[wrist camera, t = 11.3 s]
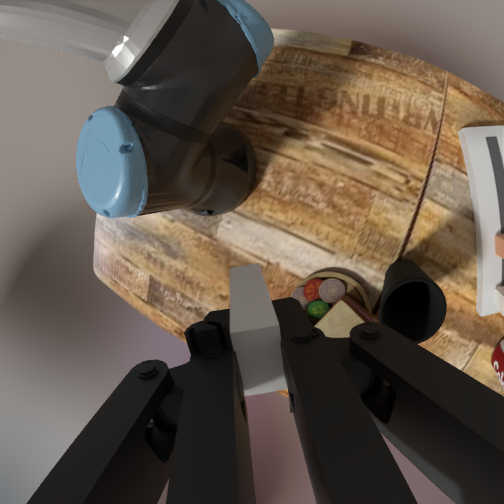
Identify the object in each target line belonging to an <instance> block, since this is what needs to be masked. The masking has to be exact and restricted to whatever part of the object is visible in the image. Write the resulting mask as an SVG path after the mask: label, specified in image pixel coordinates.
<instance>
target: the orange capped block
mask: <svg viewBox="0 0 504 504" xmlns="http://www.w3.org/2000/svg"><path fill="white" fill-rule="evenodd" d="M495 254H496V255H498V256H499V257H501V258H503V259H504V234H501V235H495Z"/></svg>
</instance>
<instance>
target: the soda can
mask: <svg viewBox="0 0 504 504" xmlns="http://www.w3.org/2000/svg"><path fill="white" fill-rule="evenodd" d="M491 363H492V366H493V368H494V370H495V372H496V374H497V376H498V378H499V380H500V383H501V385H502V387H503V389H504V339H502V340H501V341H500V342H499V343H498V344H497V346H496V347H495V349H494V351H493V353H492V357H491Z"/></svg>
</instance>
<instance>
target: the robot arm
mask: <svg viewBox="0 0 504 504" xmlns="http://www.w3.org/2000/svg"><path fill="white" fill-rule="evenodd" d="M0 39H5V40H12V41H19V42H25V43H30V44H35V45H40V46H45V47H49V48H54V49H58V50H62V51H66V52H70V53H74V54H77V55H81V56H84V57H88V58H91V59H94V60H98V61H101V62H103V63H104V65H105V67H106V70H107V73H108V76H109V78H110V81H112V82H114V83H118V84H121V85H123V86H124V88H123V90H122V92H121V93H120V95H119V97H118V100H117V101H116V103H115V105H114V106H106V107H103V108H99V109H97V110H96V111H95V112H94V113H93V115H91V116H89V117H88V119H87V120H86V122H85V124H84V126H83V128H82V130H81V133H80V136H79V140H78V145H77V156H76V165H77V166H76V167H77V174H78V180H79V184H80V188H81V190H82V193H83V195H84V197H85V199H86V201H87V202H88V204H89V205H90V206H91V208H92V209H94V211H96V212H97V213H99V214H100V215H102V216H105V217H109V218H116V217H129V218H131V217H136V216H141V215H146V214H152V213H157V212H163V211H169V210H175V209H181V208H182V209H185V210H187V211H190V212H192V213H195V214H198V215H202V216H215V215H221V214H225V213H228V212H230V211H232V210H234V209H235V208H237V207H238V206H239V205H240V204H241V203H242V202H243V201H244V200H245V199H246V198H247V196H248V195H249V193H250V191H251V189H252V187H253V184H254V181H255V176H256V158H255V154H254V150H253V148H252V146H251V144H250V142H249V140H248V139H247V138H246V137H245V136H244V134H242V133H241V132H240V131H239V130H237V129H236V128H234V127H231V126H229V125H226V124H223V123H222V122H223V120H224V119H225V117H226V116H227V114H228V113H229V111H230V110H231V108H232V107H233V105H234V104H235V102H236V101H237V99H238V98H239V96H240V95H241V94H242V92H243V91H244V89H245V88H246V87H247V85H248V84H249V82H250V81H251V80H252V78H254V77H256V76H257V75H258V74H259V73H260V70H261V66H262V65H263V64H264V62H265V61H266V59H267V58H268V56H269V55H270V54H271V52H272V50H273V45H274V37H273V34H272V31H271V29H270V27H269V25H268V24H267V22H266V21H265V20H264V18H263V17H262V16H261V15H260V14H259V13H258V12H257V11H256V10H255V9H254V8H253V7H252V6H251V5H250V4H248V3H247V2H246V1H245V0H0ZM184 334H185V338H186V341H187V344H188V347H189V350H190V353H191V357H190V361H189V362H187V363H186V364H183V365H180V366H177V367H174V368H171V369H168V366H167V364H166V363H164V362H163V361H160V360H147V361H144V362H141V363H139V364H138V365H136V366H135V367H133V368H132V369H131V371H130V372H129V373H128V374H127V375H126V376H125V378H124V379H123V380H122V381H121V383H120V384H119V385H118V386H117V388H116V389H115V390H114V391H113V393H112V394H111V395H110V397H109V398H108V399H107V400H106V401H105V403H104V404H103V405H102V406H101V408H100V409H99V410H98V411H97V413H96V414H95V415H94V416H93V418H92V419H91V420H90V421H89V423H88V424H87V425H86V427H85V428H84V429H83V430H82V431H81V433H80V434H79V435H78V437H77V438H76V439H75V441H74V442H73V443H72V444H71V446H70V447H69V448H68V449H67V451H66V452H65V453H64V455H63V456H62V457H61V458H60V460H59V461H58V462H57V464H56V465H55V466H54V468H53V469H52V470H51V472H50V473H49V474H48V476H47V477H46V478H45V479H44V481H43V482H42V484H41V485H40V486H39V487H38V489H37V490H36V491H35V493H34V494H33V495H32V497H31V498H30V500H29V501H28V503H27V504H157V503H158V501H159V499H160V497H161V494H162V492H163V490H164V487H165V485H166V483H167V481H168V479H169V485H168V493H167V500H166V504H256V497H255V487H254V478H253V468H252V458H251V450H250V449H251V448H250V437H249V427H248V416H247V406H246V402H245V398H244V394H245V396H249V395H255V394H262V393H267V392H273V391H279V390H284V389H287V387H288V394H289V402H290V411H291V413H292V412H293V415H294V419H295V423H296V427H297V430H298V434H299V438H300V442H301V446H302V450H303V453H304V457H305V461H306V465H307V469H308V473H309V476H310V480H311V484H312V488H313V492H314V496H315V499H316V503H317V504H418V503H417V501H416V499H415V497H414V496H413V494H412V492H411V490H410V488H409V486H408V484H407V482H406V480H405V478H404V476H403V475H402V472H401V471H400V469H399V467H398V465H397V463H396V461H395V459H394V457H393V455H392V454H391V452H390V450H389V448H388V446H387V444H386V443H385V441H384V439H383V437H382V435H381V433H382V434H383V435H384V436H385V437H386V438H387V439H388V440H389V441H390V442H391V443H392V444H393V445H394V446H395V447H396V448H397V449H398V450H399V451H400V452H401V453H402V454H403V455H404V456H405V457H406V458H407V459H408V460H409V461H410V462H411V463H413V465H414V466H416V467H417V468H418V469H419V470H420V471H421V472H422V473H423V474H424V475H425V476H426V477H427V478H428V479H429V480H430V481H432V482H433V483H434V484H435V485H436V486H437V487H438V488H439V489H440V490H441V491H442V492H443V493H445V494H446V495H447V496H448V497H449V498H450V499H451V500H452V501H454V502H455V503H456V504H504V397H503V396H502V395H500V394H498V393H497V392H495V391H493V390H492V389H490V388H489V387H487V386H485V385H484V384H482V383H480V382H479V381H477V380H475V379H474V378H472V377H471V376H469V375H467V374H466V373H464V372H462V371H461V370H459V369H457V368H456V367H454V366H452V365H451V364H449V363H448V362H446V361H444V360H443V359H441V358H439V357H438V356H436V355H434V354H433V353H431V352H429V351H428V350H426V349H424V348H423V347H421V346H419V345H418V344H416V343H414V342H413V341H411V340H409V339H408V338H406V337H405V336H403V335H401V334H400V333H398V332H396V331H395V330H393V329H391V328H390V327H388V326H386V325H384V324H381V323H377V322H364V323H361V324H358V325H356V326H354V327H353V328H352V329H351V331H350V336H349V337H343V338H331V337H326V336H325V334H324V332H323V331H322V330H321V329H319V328H317V327H314V326H313V325H312V323H311V321H310V320H309V318H308V316H307V314H306V312H305V310H304V309H303V308H302V305H301V303H300V301H299V300H297V299H295V298H293V297H288V298H283V299H278V300H272V301H271V298H270V295H269V292H268V289H267V286H266V283H265V280H264V277H263V274H262V271H261V268H260V265H259V263H257V264H251V265H245V266H240V267H234V268H230V309H224V310H217V311H211V312H209V313H208V315H207V316H206V317H205V318H204V321H200V322H197V323H195V324H192V325H191V326H190V327H188V328H187V329H186V331H185V332H184ZM380 432H381V433H380ZM169 477H170V478H169Z"/></svg>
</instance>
